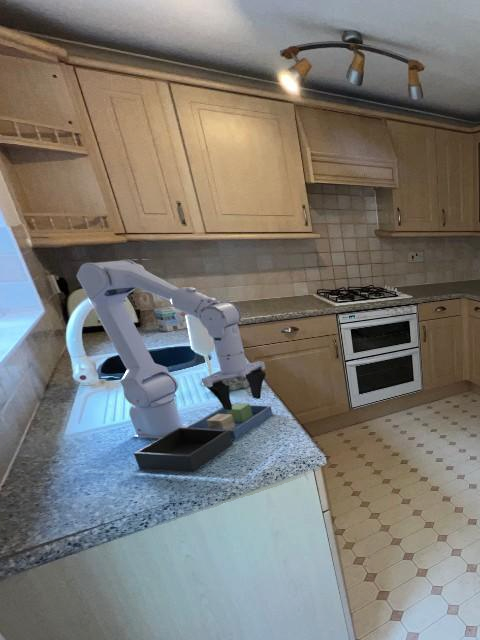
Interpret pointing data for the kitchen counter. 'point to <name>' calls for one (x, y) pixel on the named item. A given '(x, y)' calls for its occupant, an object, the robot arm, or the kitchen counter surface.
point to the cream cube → (221, 422)
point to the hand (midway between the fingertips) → (242, 403)
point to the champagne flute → (200, 339)
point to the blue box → (240, 427)
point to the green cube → (240, 412)
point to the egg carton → (237, 383)
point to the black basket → (183, 449)
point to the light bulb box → (170, 319)
